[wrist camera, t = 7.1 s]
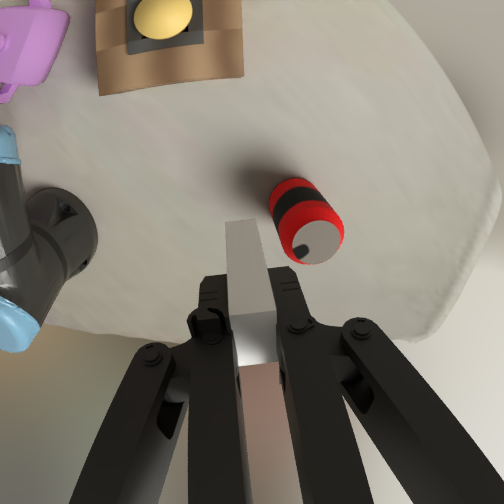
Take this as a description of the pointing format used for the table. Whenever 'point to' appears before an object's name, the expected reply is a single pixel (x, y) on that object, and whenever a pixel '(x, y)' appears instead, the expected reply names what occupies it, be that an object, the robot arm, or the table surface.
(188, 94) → the table surface
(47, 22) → the teapot
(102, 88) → the socket
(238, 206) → the table surface
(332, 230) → the soda can
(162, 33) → the peg
